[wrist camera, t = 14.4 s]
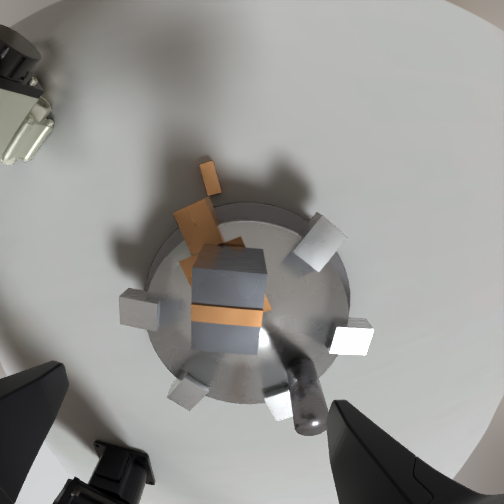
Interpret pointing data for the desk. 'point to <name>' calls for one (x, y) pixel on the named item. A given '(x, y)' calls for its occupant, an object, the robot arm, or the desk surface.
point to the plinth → (243, 212)
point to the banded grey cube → (227, 299)
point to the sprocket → (273, 320)
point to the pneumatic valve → (20, 100)
